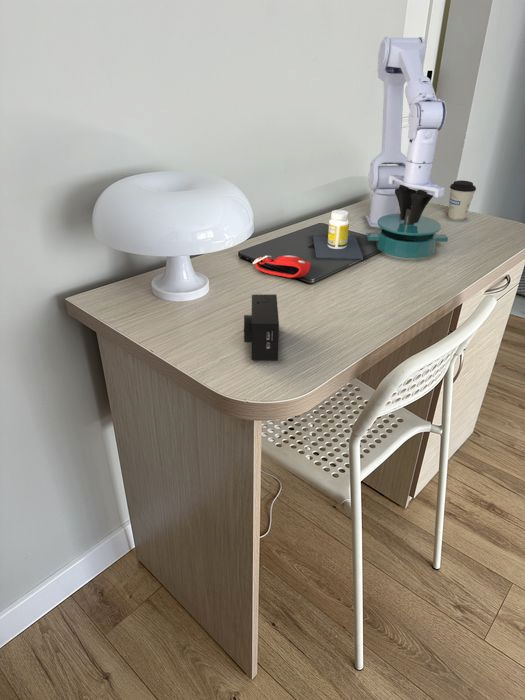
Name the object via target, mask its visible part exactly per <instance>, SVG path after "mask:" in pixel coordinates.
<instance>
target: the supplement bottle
mask: <svg viewBox="0 0 525 700" xmlns="http://www.w3.org/2000/svg"><path fill="white" fill-rule="evenodd" d="M349 229H350V221H349V212H348V211H347V210H345V209H334V210H331V213H330V219H329V221H328V230H327V231H328V234H327V236H328V247H330V248H332V249H344V248H346V247H347V240H348V237H349Z"/></svg>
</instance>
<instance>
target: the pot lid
mask: <svg viewBox="0 0 525 700" xmlns="http://www.w3.org/2000/svg"><path fill="white" fill-rule="evenodd" d="M411 209H412V206H411V207H407V208H406V212H405V218H404V220H401V216H400V213H398V214H389V215H385V216H382V217H380V218H379V219H378V222H377V223H378V225H379V226H380V227H381V228H382V229H384V230H387V231H389V232H393V233H397V234H402V235H412V236H422V235H430V234H434V233H436V234H437V233H438V232H440V230H441V228H442V225H441V223H440V222H439V221H437V220H435V219H433V218H432V217H428V216H425V215H421V216H420V219H419V221H418V222H417V223H414V224H412V223H410V217H411ZM380 227H379V228H380Z"/></svg>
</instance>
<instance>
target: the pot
mask: <svg viewBox="0 0 525 700" xmlns="http://www.w3.org/2000/svg"><path fill="white" fill-rule="evenodd" d="M365 237H366V240H367V241H368V242H369V241H373V242H375V241H376V243H375V246H376V248H377V250H378V251H380V252H382V253H383V254H386V255H389V256H392V257H395V258H402V259H422V258H428V257H429V256H432V255H433V254H434V252H435V249H436V245H437V242H438V243H448V240H449V237H448V236H447V235H446V234H445V233H444V234H443V233H442V234H440V233H438V234H437V233H434V234H430V235H422V236H412V235H402V234H397V233H393V232H389V231H387V230H384V229H382V228H381V227H379V228H378V230H377V232H366V236H365ZM406 240H408V241H406Z"/></svg>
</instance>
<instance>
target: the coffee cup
mask: <svg viewBox="0 0 525 700" xmlns="http://www.w3.org/2000/svg"><path fill="white" fill-rule="evenodd" d="M449 188H450V191H449V199H448V200H449V202H448V213H447V215H448V218H450V219H455V220H464V219H466V217H467V215H468V212H469V209H470V206H471V203H472V201H473V198H474V194H475V192H476V191H477V188H476V186H475V185H474V183H473V182H472V181H469V180H461V179H460V180H455V181H453V183H451V184H450V185H449Z"/></svg>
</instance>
